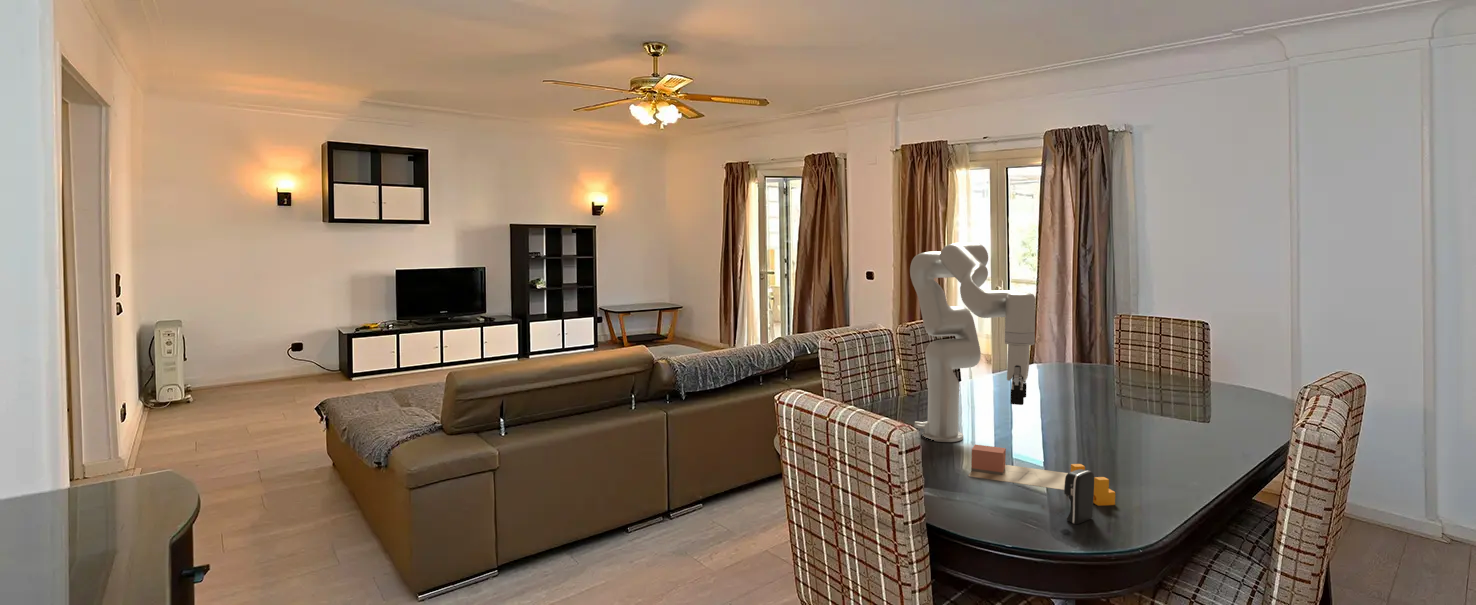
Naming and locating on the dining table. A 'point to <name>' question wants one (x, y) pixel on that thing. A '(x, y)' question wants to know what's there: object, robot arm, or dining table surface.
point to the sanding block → (988, 459)
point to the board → (1027, 477)
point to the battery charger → (1080, 495)
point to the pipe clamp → (1099, 488)
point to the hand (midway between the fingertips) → (1018, 400)
